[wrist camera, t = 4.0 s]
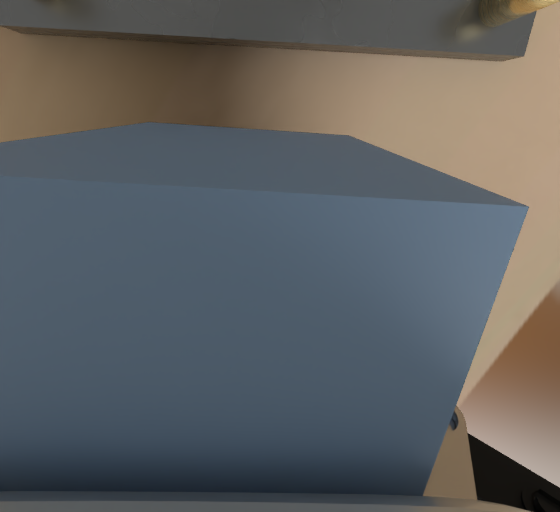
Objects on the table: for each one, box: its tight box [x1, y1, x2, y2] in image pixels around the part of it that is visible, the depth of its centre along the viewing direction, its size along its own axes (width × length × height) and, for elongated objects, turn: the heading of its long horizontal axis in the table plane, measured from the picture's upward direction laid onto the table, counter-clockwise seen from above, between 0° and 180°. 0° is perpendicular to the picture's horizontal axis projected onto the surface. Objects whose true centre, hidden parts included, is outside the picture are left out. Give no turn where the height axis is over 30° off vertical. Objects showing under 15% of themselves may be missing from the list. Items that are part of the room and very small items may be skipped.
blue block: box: [0, 122, 529, 496], centre depth 9 cm, size 12×6×8 cm, turn 176°
